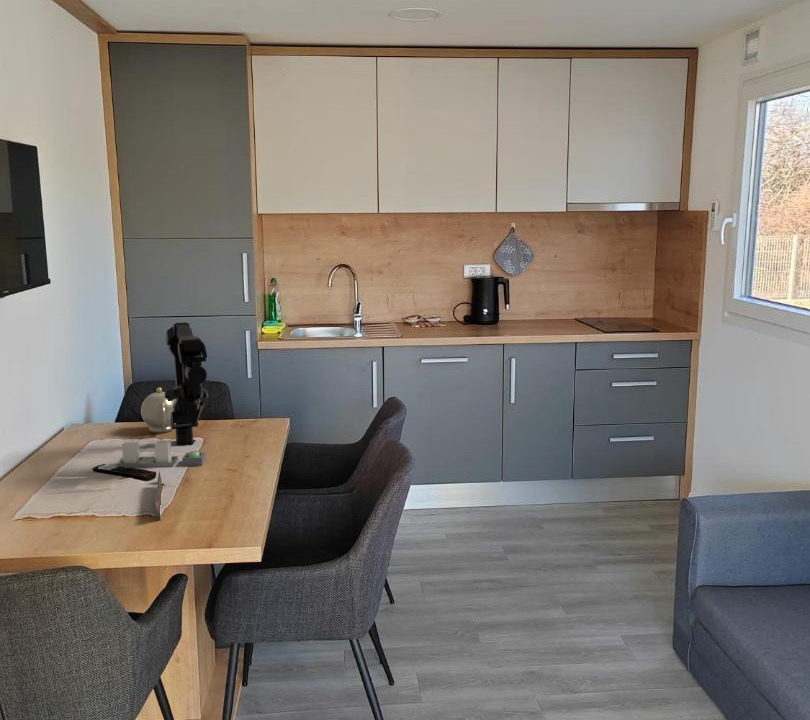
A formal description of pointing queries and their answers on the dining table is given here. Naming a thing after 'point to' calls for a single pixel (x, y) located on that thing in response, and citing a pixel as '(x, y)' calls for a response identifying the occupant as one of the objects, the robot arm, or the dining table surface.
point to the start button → (193, 454)
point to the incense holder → (158, 497)
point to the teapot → (157, 412)
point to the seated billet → (163, 451)
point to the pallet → (148, 463)
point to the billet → (131, 452)
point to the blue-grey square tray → (145, 450)
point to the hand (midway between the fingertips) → (194, 425)
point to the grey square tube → (194, 460)
